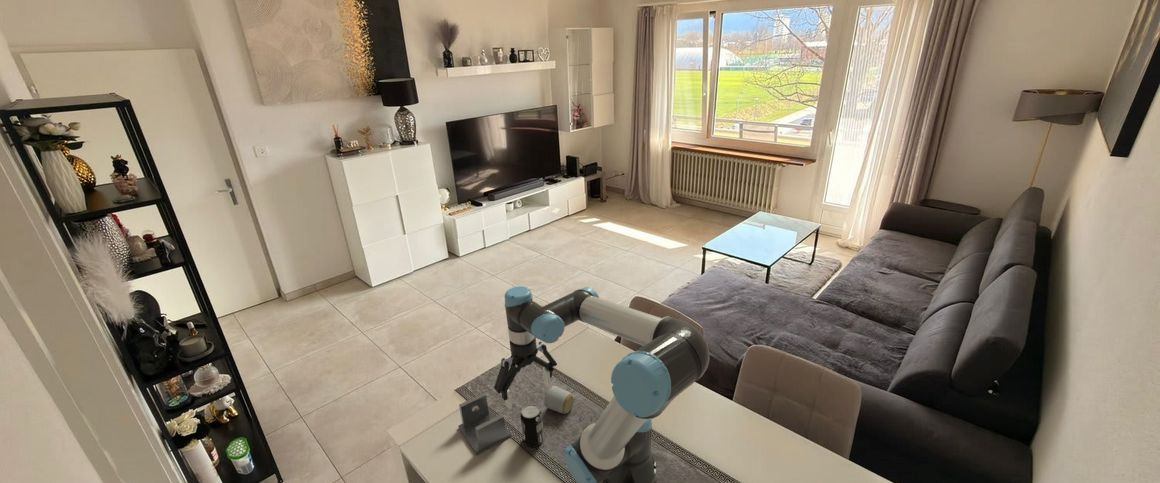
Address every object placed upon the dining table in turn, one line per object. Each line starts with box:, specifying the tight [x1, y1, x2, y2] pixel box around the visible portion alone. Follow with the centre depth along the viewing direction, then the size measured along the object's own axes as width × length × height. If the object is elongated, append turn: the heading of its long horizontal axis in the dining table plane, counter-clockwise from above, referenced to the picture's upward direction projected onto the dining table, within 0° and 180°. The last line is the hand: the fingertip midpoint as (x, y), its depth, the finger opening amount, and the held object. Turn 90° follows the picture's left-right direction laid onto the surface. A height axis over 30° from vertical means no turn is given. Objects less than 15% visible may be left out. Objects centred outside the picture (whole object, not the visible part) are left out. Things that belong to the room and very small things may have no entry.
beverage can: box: [520, 403, 545, 447], centre depth 149 cm, size 7×7×12 cm
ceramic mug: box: [543, 385, 575, 415], centre depth 164 cm, size 11×8×8 cm
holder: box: [457, 392, 512, 456], centre depth 154 cm, size 14×12×9 cm
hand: (528, 396), depth 145 cm, fingers open, 13 cm apart
